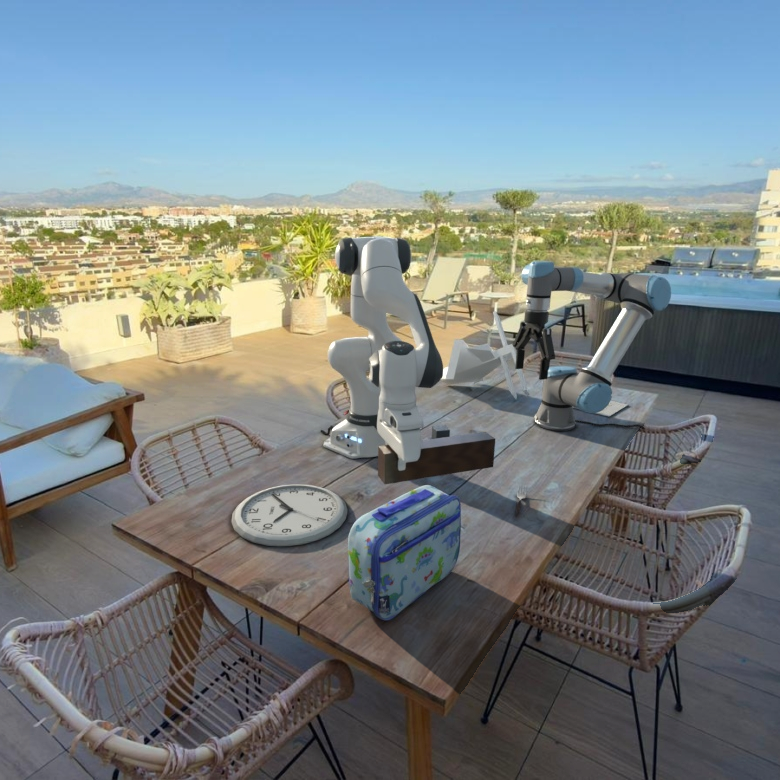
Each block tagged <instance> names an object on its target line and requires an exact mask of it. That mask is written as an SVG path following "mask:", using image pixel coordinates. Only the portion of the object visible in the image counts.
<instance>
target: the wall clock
mask: <svg viewBox="0 0 780 780" xmlns="http://www.w3.org/2000/svg"><path fill="white" fill-rule="evenodd" d="M347 515H348V507H347V504H346V502H345V501H344V499H343V498H342V497H341V496H340V495H338V494H337V493H335V492H333V491H332V490H330V489H327V488H325V487H321V486H317V485H311V484H299V483H298V484H297V483H295V484H294V483H293V484H282V485H278V486H273V487H269V488H266V489H263V490H260V491H257V492H255V493H253V494H252V495H250V496H248V497H246V498H245V499H244V500H242V501H241V502H240V503H239V504H238V505H237V506H236V508H235V509H234V510H233V512H232V516H231V525H232V527H233V530H234V532H235V533H237V534H238V536H240V537H241V538H243V539H245V540H246V541H248V542H251V543H255V544H258V545H264V546H269V547H291V546H301V545H305V544H309V543H312V542H316V541H320V540H321V539H323V538H325V537H327V536H330V535H332V534H333V533H334V532H336V531H337V530H338V529H340V527H341V526H342V525H343V524H344V522H345V521H346V519H347Z"/></svg>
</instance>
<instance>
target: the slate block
mask: <svg viewBox="0 0 780 780" xmlns="http://www.w3.org/2000/svg"><path fill="white" fill-rule="evenodd" d="M443 437H451V430H450V428H449V427H448V426H447V424H442V425H441V424H440V425H432V426H431V439H436V438H443Z"/></svg>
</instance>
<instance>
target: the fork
mask: <svg viewBox="0 0 780 780" xmlns="http://www.w3.org/2000/svg"><path fill="white" fill-rule="evenodd" d="M520 486H521V485H520V484H518V488H517V493H516V497H517V498H518V502H517V503H516V507H515V517H516V518H517V517H518V514H519V512H520V510H521V507H522V500H525V499H526V498H527V493H528V487H526V485H524V486H521V487H520ZM525 487H526V489H525Z"/></svg>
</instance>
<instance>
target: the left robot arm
mask: <svg viewBox="0 0 780 780" xmlns="http://www.w3.org/2000/svg"><path fill="white" fill-rule="evenodd" d="M412 256H413V255H412V250H411V246H410V243H409V242H408V241H407V240H406V239H405V238H400V237H395V238H393V237H388V236H363V237H350V236H349V237H344V238H342V239H340V240H339V242H337V245H336V248H335V251H334V261H335V264H336V267H337V270H338V271H339V272H340V273H341V274H343V275H346V276H351V281H350V318H351V320H352V322H353V323H354V324H356V325H358V326H359V327H362V328H364V329H366V330H367V331H368V336H361V337H360V336H358V337H344V338H341V339H336V340H333V341H332V342H331V344H330V345H329V347H328V349H327V361H328V363H329V365H330V367H331V368H332V369H333V370H334V371H335V372H337V373H339V374H340V375H341V376H342V377H343V379H344V380H345V382H346V384H347V385H348V390H349V399H350V408H348V409H346V410H345V411H344V412H343V413H344V414H343V416H346V418H344V419H343V420H342V421H340V422H337V423H334V424H331V425H330V426H329V427H328V428H327V431H325V430H323V429H320V433H322V434H324V435H326V436H328V435H330V437H329V438H327V439H325V440H324V442H323V448H325V449H327V450H330V451H332V452H334V453H336V454H339V455H341V456H344V457H346V458H349V459H351V460H355V459H360V458H361V459H362V458H374V457H375V458H376V457H378V446H383V445H389V446H390V447H391V448H392V449H393V450H394V451H395V452H396V453H397V455H398V458H399V459H398V462H397V469H398V470H399V471H401V470H405V468H406V462H414V461H417V460H418V459H419V457H420V452H421V440H422V431H421V429H423V428H424V418H423V417H422V415H421V413H420V411H419V407H418V405H417V394H416V388H419V389H420V388H421V389H423V388H424V389H433V387H435V386H436V385H437V384H438V383H439V382H440V381H442V380H441V378H442V376H443V369H444V363H443V358H442V356H441V354H440V352H439V350H438V347H437V345H436V344H435V340H434V338H433V334H432V331H431V329H430V326H429V325H430V324H429V322H428V319H427V316H426V314H425V311H424V308H423V305H422V303H421V300H420V298H419V296H418V294H416V293H414V292H413V291H411V290H410V288H408V286H407V285H406V283H405V281H404V278H403V274H406V272H407V271H409V269H410V267H411V263H412V259H413V258H412ZM387 314H389V315H392V316H394V317H397V318H399V319H401V320H402V321H404V322H405V323H406V324H407V325H408V326H409V328H410V331H411V334H412V338H413V342H414V345H415V346H414V345H413V344H412V343H409V342H408V341H403V340H402V339H401V338H400V337H398V336H397V335H396V334H395V333H394V332H393V331H392V329H391V327H390V326H389V322H388V318H387ZM415 347H416V348H415ZM367 372H369V373H368V376H367Z"/></svg>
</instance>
